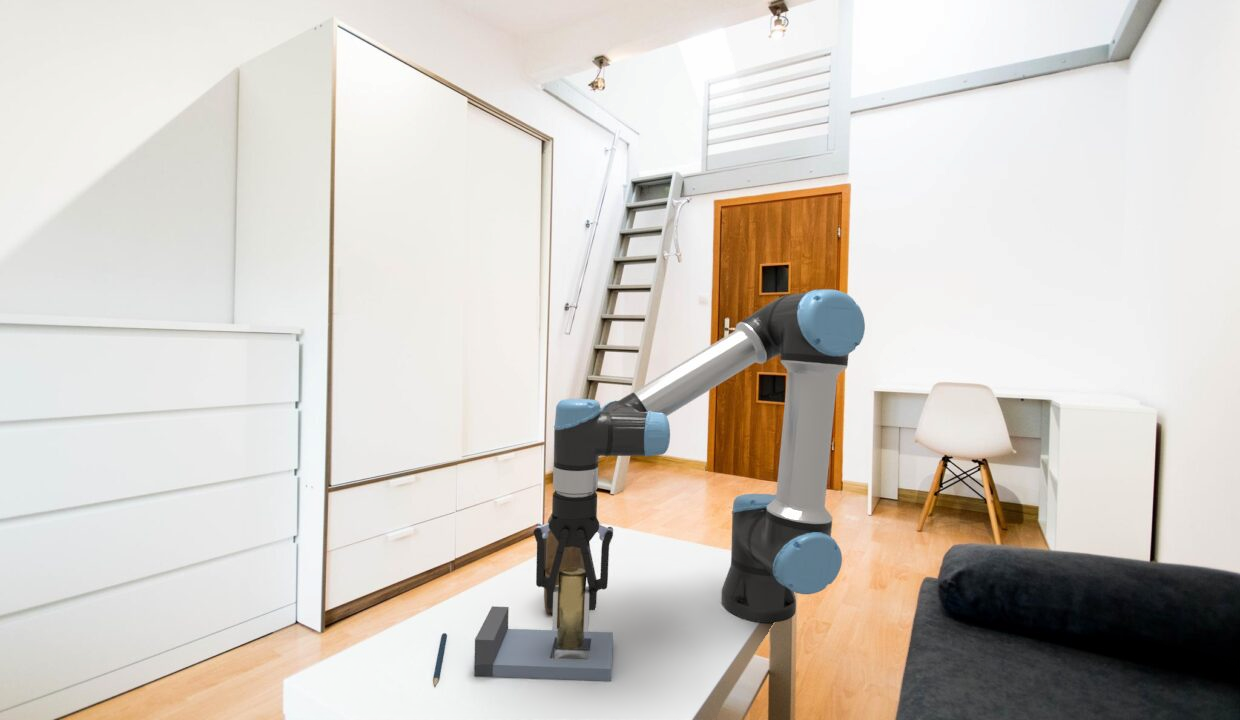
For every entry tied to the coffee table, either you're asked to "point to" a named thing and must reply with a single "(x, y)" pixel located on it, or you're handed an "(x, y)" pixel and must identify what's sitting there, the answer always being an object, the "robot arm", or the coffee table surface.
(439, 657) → the pencil
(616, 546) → the coffee table surface
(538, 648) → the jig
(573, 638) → the brass cylinder rod
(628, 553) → the coffee table surface
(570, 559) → the block
